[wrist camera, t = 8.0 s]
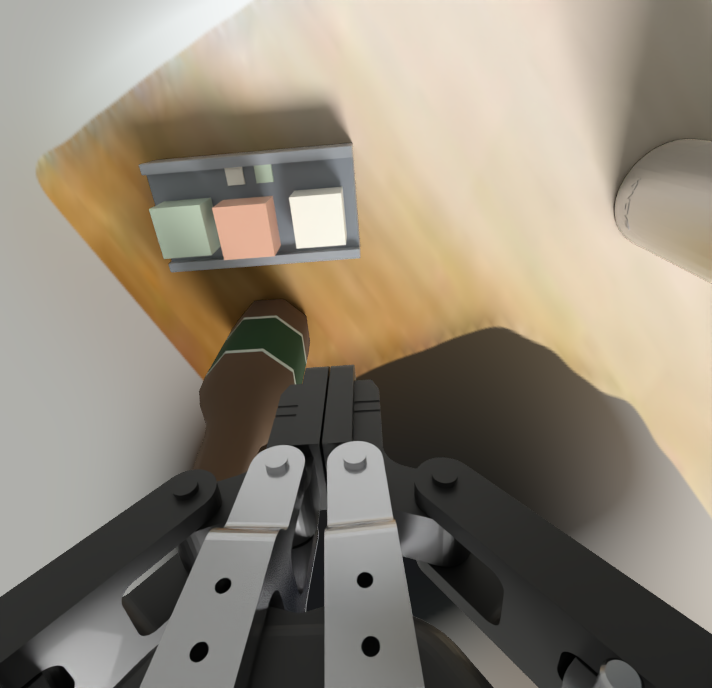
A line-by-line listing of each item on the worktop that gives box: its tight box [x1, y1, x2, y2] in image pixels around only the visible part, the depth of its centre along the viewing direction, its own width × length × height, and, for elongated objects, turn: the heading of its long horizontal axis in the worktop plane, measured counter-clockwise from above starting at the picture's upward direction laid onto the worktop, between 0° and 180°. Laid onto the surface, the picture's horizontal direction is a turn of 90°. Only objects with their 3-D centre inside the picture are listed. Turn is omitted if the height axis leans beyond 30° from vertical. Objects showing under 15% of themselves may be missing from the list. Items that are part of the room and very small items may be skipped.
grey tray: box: [139, 143, 360, 272], centre depth 37 cm, size 17×9×5 cm, turn 95°
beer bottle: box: [192, 299, 310, 481], centre depth 35 cm, size 8×8×24 cm
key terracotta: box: [212, 196, 281, 260], centre depth 34 cm, size 4×4×3 cm
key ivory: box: [289, 187, 347, 249], centre depth 35 cm, size 4×4×3 cm
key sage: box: [149, 198, 221, 259], centre depth 36 cm, size 4×4×3 cm
